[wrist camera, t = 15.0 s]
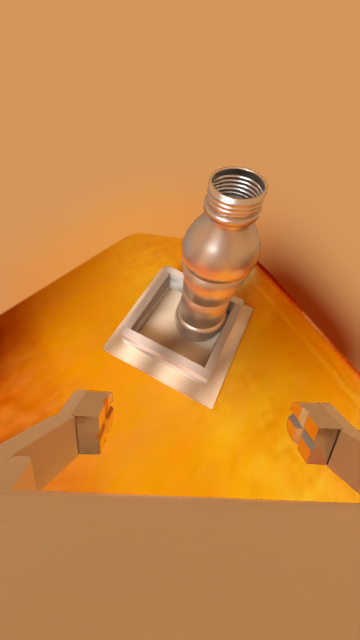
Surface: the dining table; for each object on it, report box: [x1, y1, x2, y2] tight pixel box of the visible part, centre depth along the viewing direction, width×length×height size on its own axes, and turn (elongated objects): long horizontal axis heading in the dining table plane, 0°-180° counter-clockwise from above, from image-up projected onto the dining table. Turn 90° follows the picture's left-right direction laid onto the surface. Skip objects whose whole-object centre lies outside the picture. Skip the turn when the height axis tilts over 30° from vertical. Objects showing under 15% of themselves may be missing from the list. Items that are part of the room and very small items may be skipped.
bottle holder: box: [103, 266, 254, 409], centre depth 30 cm, size 16×16×4 cm
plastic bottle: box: [175, 167, 268, 342], centre depth 22 cm, size 6×7×20 cm
